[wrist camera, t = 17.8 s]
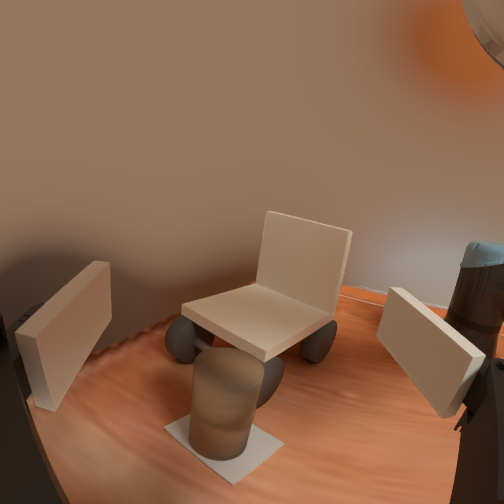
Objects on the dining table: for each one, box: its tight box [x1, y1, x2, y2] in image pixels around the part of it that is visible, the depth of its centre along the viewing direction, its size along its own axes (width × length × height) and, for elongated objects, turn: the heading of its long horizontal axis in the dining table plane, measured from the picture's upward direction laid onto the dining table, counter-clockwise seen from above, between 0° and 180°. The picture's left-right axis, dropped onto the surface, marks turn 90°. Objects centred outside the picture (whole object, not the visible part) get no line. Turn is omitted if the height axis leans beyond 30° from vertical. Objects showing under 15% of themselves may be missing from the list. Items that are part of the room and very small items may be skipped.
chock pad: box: [163, 414, 284, 486], centre depth 29 cm, size 8×10×1 cm
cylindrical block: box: [189, 347, 264, 461], centre depth 27 cm, size 6×6×10 cm
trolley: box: [165, 211, 353, 409], centre depth 43 cm, size 22×14×20 cm, turn 140°
